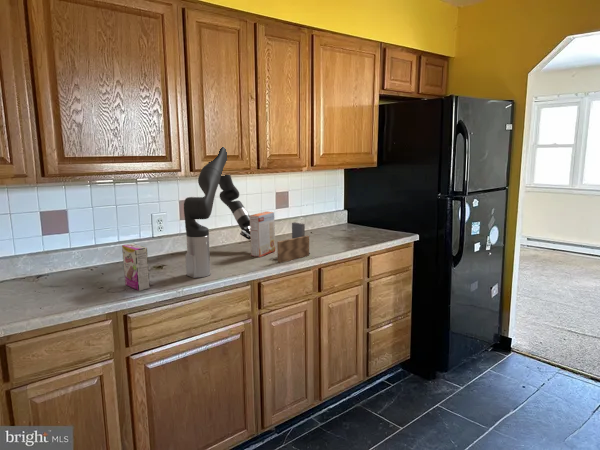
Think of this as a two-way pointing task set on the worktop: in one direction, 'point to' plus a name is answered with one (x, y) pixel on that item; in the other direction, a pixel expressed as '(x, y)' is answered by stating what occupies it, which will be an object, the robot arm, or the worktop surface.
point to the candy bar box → (136, 266)
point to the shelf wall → (293, 248)
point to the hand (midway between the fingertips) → (258, 244)
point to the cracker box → (262, 233)
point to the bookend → (298, 230)
